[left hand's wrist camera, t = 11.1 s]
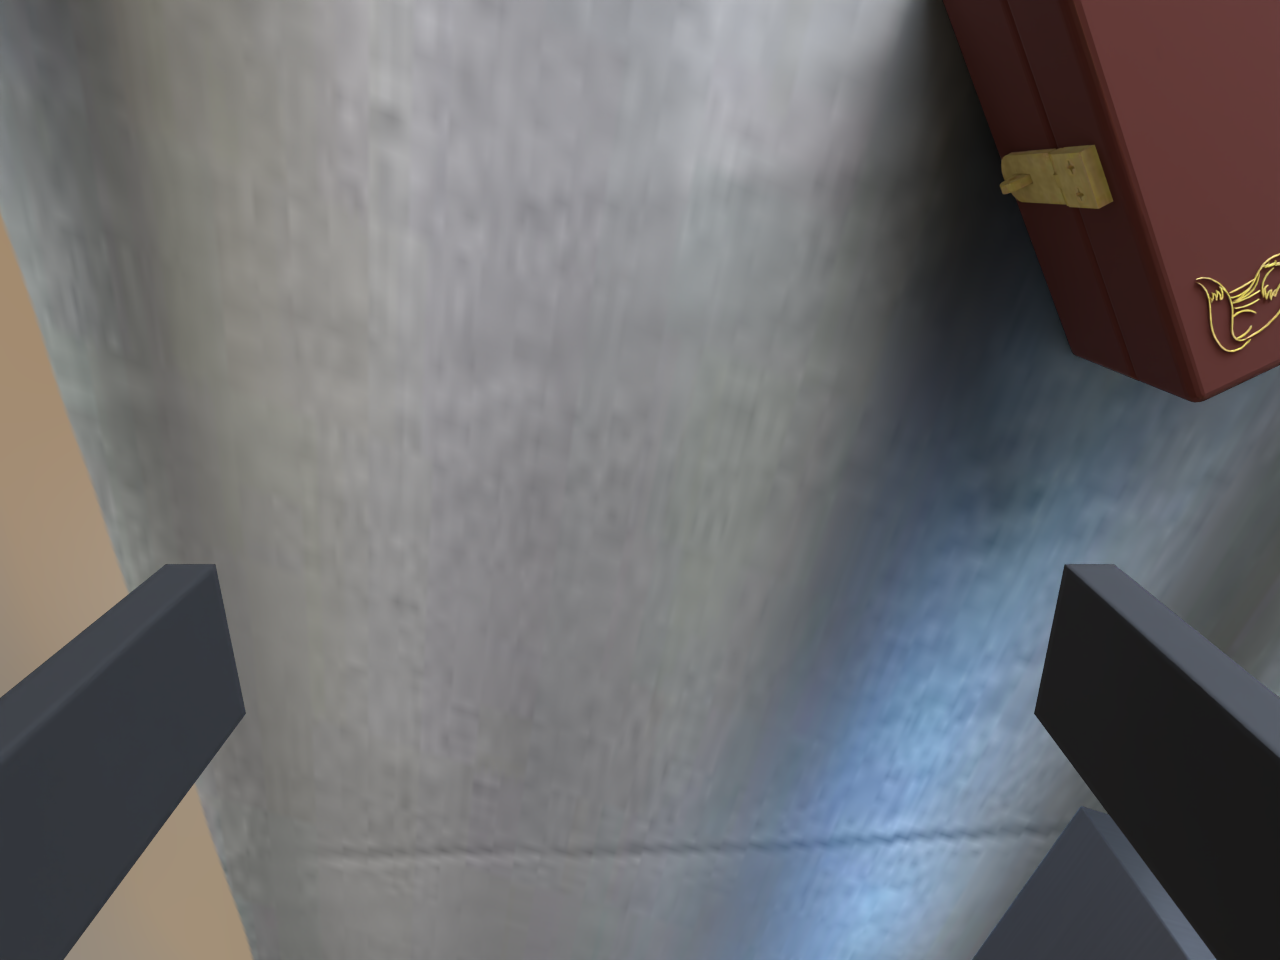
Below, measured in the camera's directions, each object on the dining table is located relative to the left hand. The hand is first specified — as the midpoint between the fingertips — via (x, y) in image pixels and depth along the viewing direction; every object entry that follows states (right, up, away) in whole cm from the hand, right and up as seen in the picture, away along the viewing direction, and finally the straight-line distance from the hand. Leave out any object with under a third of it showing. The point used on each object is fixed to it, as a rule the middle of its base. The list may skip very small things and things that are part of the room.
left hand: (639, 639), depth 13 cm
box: (+24, +21, +26) cm, 41 cm away
